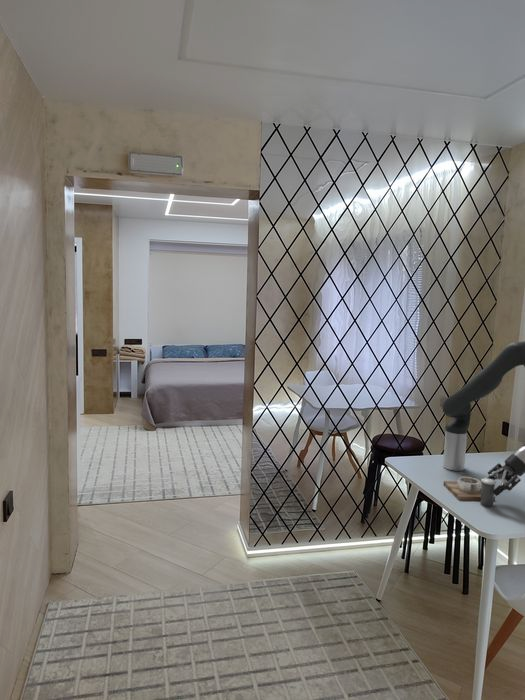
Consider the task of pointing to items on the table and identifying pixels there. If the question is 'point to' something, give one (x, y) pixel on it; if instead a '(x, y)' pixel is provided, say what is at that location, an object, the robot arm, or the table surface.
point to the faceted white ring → (468, 484)
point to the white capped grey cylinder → (487, 492)
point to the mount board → (460, 494)
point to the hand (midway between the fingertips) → (488, 489)
